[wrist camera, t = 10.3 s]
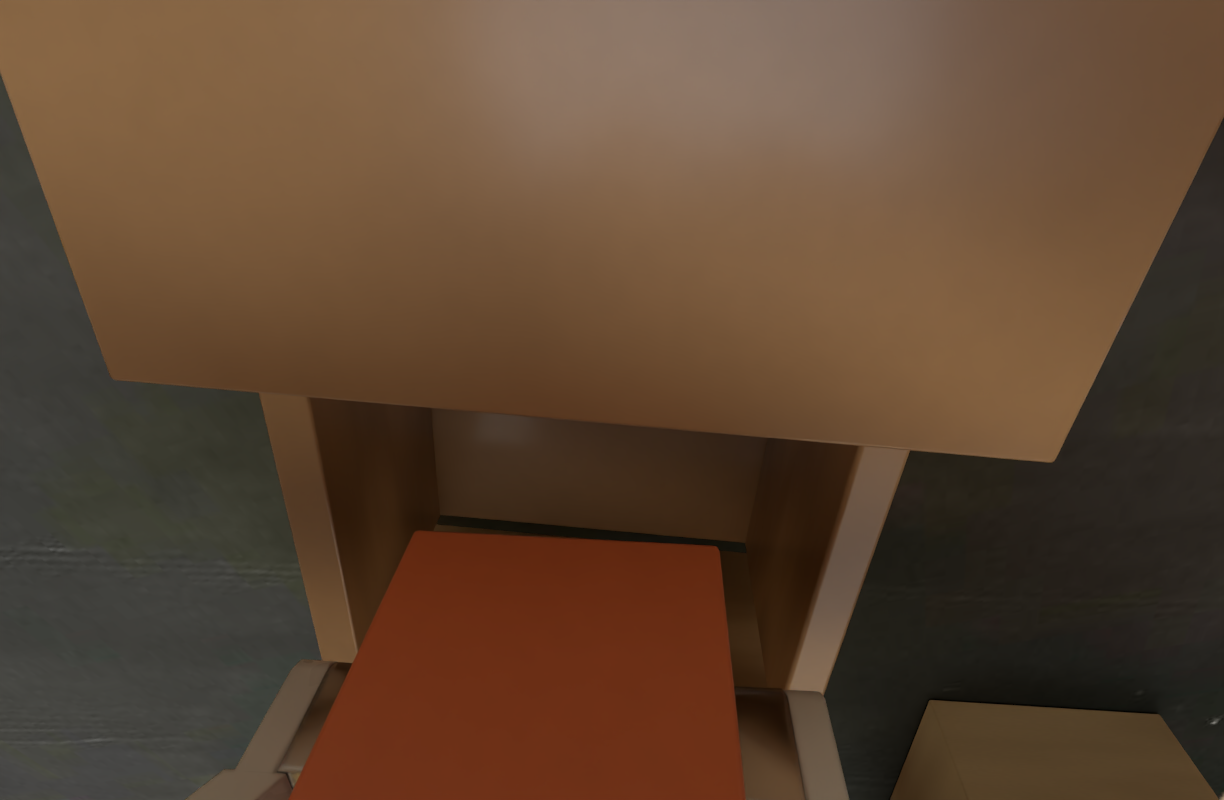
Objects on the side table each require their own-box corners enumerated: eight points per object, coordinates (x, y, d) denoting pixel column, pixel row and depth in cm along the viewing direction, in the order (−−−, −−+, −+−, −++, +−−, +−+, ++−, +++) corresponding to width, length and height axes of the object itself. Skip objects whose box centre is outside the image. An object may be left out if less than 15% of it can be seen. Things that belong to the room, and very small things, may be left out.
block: (413, 527, 10) (255, 861, 6) (720, 543, 9) (759, 899, 6) (447, 716, 12) (348, 1047, 8) (696, 733, 12) (713, 1081, 8)
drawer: (752, 673, 23) (784, 905, 17) (419, 641, 23) (336, 858, 17) (874, 208, 15) (1014, 341, 9) (361, 166, 15) (168, 269, 9)
